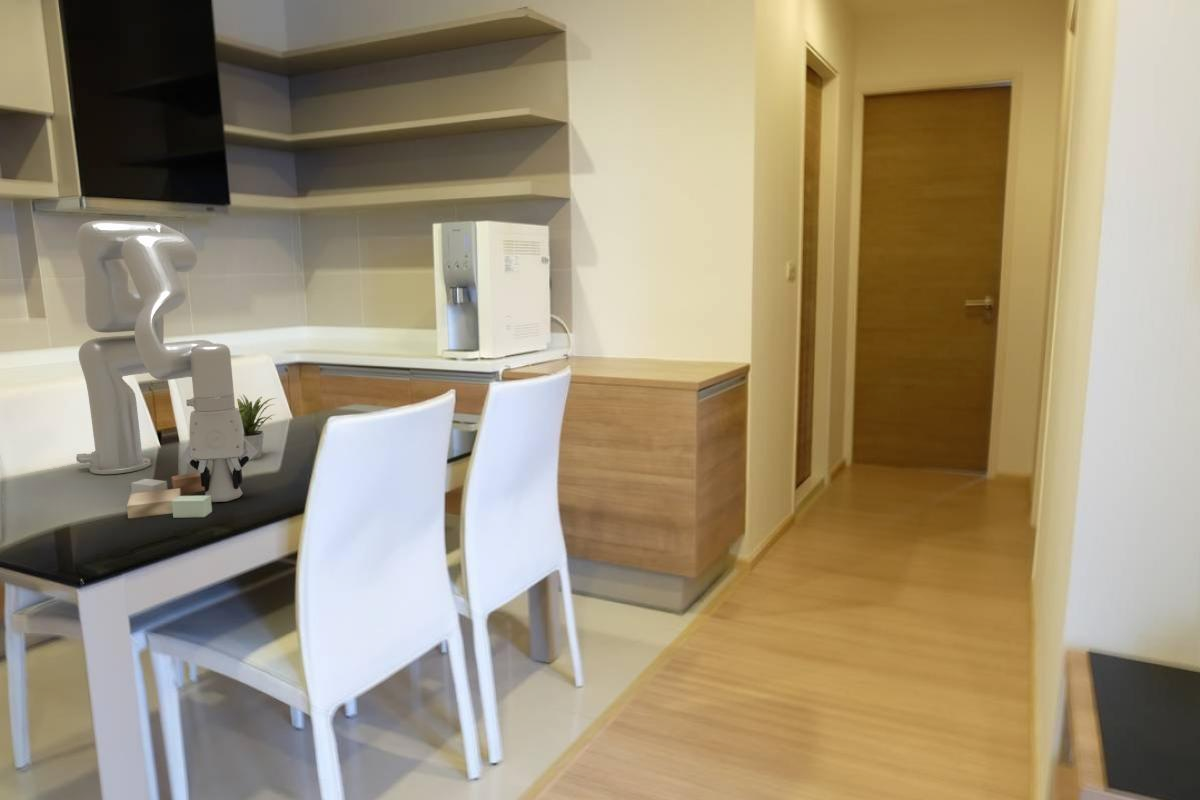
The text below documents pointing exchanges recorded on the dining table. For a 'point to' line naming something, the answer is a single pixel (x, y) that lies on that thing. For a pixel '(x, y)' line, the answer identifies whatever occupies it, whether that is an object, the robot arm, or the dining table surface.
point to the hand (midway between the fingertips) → (222, 487)
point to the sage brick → (191, 506)
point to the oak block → (151, 503)
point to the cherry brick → (188, 483)
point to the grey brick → (148, 485)
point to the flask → (222, 482)
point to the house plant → (252, 424)
